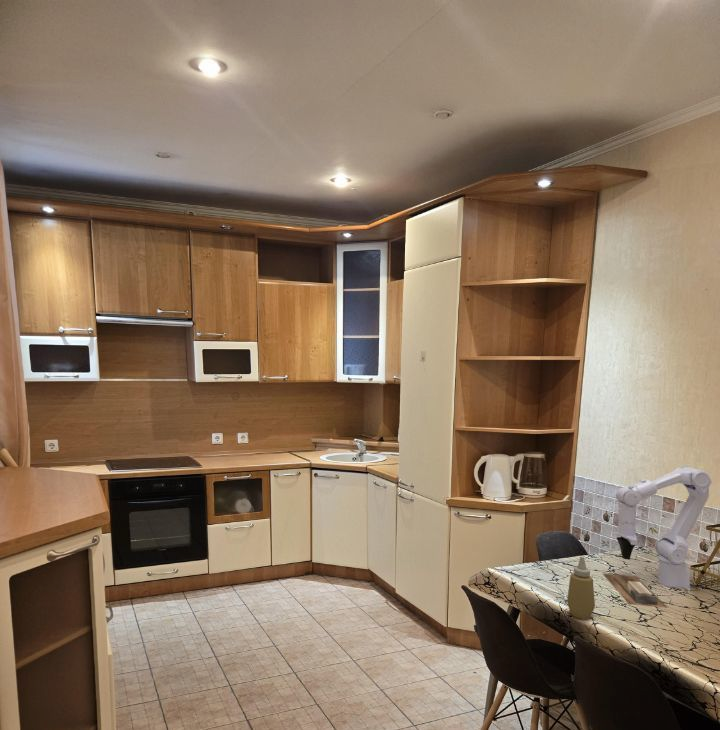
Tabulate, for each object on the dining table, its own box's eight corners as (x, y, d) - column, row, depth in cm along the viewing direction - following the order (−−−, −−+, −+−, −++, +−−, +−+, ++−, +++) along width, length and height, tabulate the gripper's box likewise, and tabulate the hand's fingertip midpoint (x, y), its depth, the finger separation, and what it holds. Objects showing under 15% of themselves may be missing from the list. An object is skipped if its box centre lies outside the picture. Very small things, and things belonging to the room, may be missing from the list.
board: (635, 578, 191) (636, 569, 191) (668, 610, 165) (668, 599, 165) (602, 575, 193) (602, 567, 193) (629, 606, 167) (629, 596, 167)
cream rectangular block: (639, 590, 178) (639, 582, 178) (652, 603, 168) (652, 594, 168) (627, 589, 179) (627, 580, 179) (639, 602, 169) (639, 592, 169)
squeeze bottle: (560, 611, 161) (562, 554, 162) (579, 607, 165) (581, 551, 165) (581, 623, 154) (582, 563, 154) (600, 619, 157) (602, 560, 158)
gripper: (608, 515, 194) (607, 550, 194) (622, 526, 179) (621, 564, 179) (628, 516, 193) (627, 552, 193) (644, 527, 179) (643, 566, 178)
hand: (626, 558), depth 186 cm, fingers closed
